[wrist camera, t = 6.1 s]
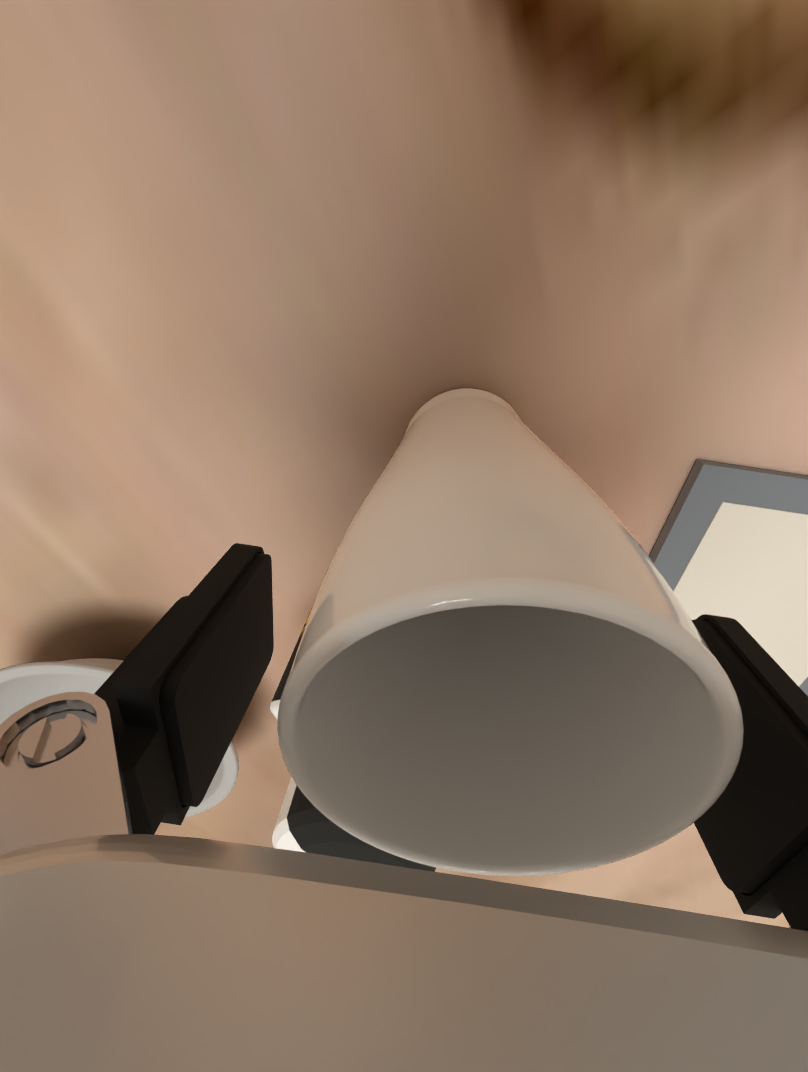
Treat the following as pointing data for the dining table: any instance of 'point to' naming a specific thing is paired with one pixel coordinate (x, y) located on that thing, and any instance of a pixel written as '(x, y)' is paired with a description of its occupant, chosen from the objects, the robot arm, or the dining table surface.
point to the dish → (42, 679)
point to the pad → (743, 555)
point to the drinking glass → (501, 665)
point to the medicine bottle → (321, 818)
